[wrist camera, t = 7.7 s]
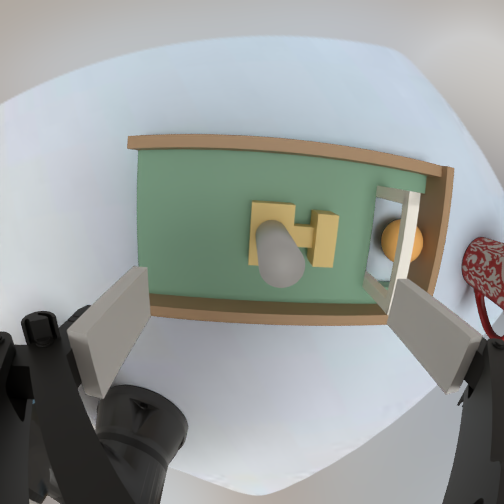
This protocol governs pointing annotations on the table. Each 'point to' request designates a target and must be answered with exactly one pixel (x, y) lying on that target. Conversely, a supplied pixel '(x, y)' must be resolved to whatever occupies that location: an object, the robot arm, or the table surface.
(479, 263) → the mug
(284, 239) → the kicker
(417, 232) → the ball
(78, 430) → the robot arm
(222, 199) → the pitch
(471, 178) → the table surface
